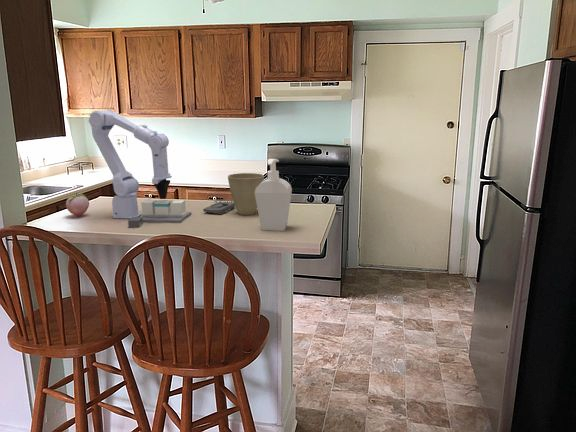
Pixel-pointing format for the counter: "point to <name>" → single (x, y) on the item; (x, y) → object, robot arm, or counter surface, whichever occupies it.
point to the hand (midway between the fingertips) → (163, 198)
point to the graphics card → (220, 207)
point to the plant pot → (244, 191)
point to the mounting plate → (175, 217)
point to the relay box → (135, 222)
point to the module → (162, 207)
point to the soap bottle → (273, 200)
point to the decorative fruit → (77, 204)
